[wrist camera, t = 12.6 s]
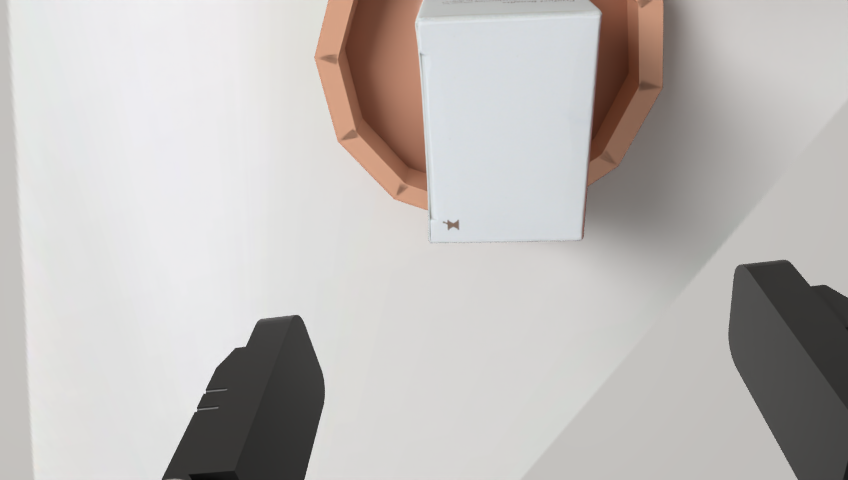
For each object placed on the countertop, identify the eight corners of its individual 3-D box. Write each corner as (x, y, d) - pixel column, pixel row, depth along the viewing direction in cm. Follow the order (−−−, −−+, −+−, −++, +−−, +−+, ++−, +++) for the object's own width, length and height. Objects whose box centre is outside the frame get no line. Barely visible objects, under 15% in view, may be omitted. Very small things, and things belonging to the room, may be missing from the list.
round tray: (291, -83, 26) (276, -80, 24) (645, -162, 24) (664, -167, 22) (371, 214, 34) (365, 238, 32) (647, 174, 32) (661, 196, 29)
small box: (548, 138, 30) (585, 248, 21) (437, 141, 31) (427, 250, 22) (558, -36, 26) (609, 8, 17) (429, -30, 27) (413, 17, 18)
